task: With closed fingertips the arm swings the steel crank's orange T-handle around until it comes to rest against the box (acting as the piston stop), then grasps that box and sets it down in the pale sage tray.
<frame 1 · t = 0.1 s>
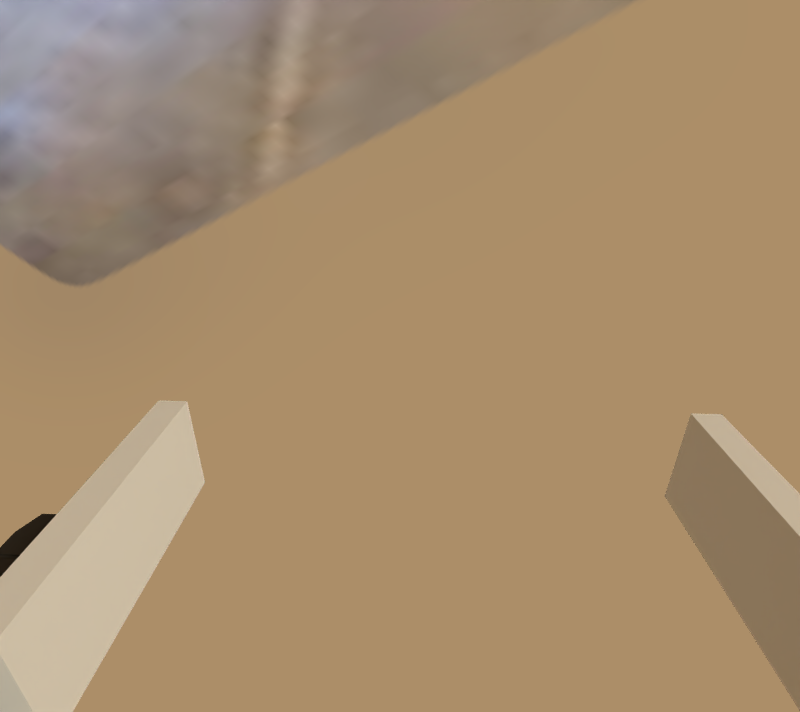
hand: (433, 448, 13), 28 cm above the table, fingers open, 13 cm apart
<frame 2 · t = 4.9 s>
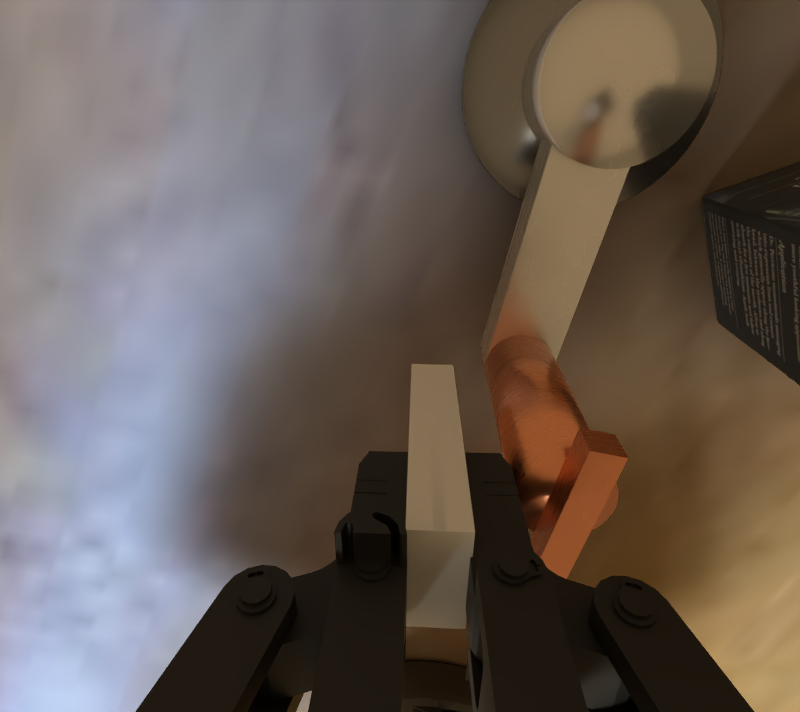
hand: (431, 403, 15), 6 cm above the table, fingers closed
crank: (586, 262, 13), point 6 cm above the table, hinge at 1.8°, touching gripper
crank base: (579, 85, 17), on the table
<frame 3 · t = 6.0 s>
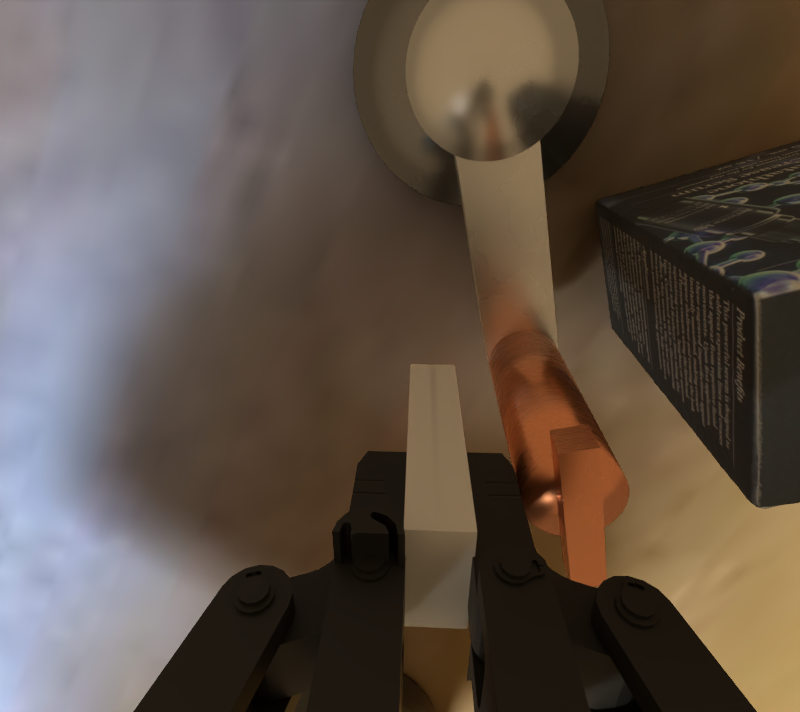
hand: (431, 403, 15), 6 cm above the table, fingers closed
box: (702, 238, 19), on the table
crank: (522, 255, 13), point 6 cm above the table, hinge at 29.8°, touching gripper
crank base: (475, 77, 17), on the table
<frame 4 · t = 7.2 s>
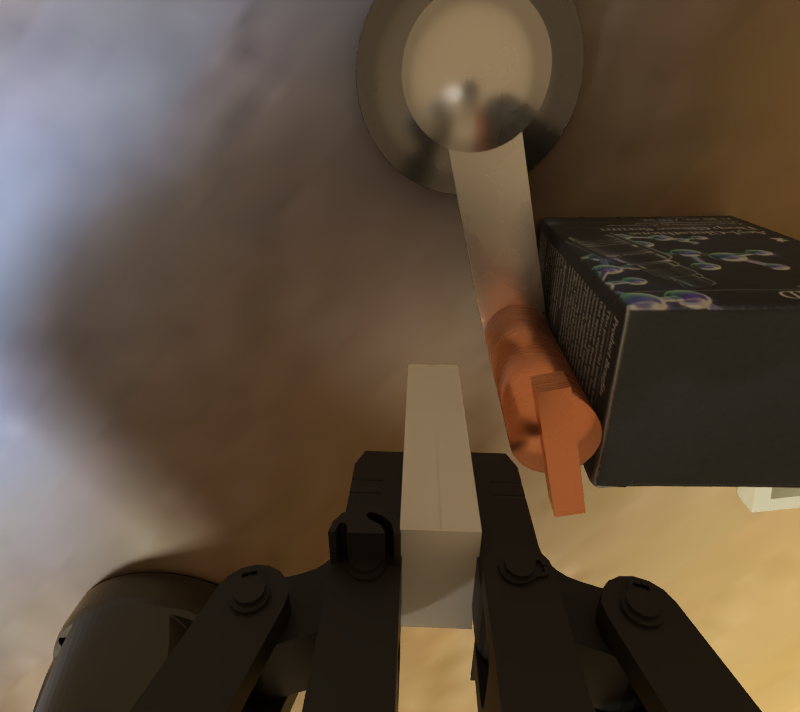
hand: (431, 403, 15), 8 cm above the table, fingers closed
box: (619, 276, 22), on the table, touching crank
crank: (507, 232, 15), point 6 cm above the table, hinge at 47.5°, touching box
crank base: (465, 78, 19), on the table
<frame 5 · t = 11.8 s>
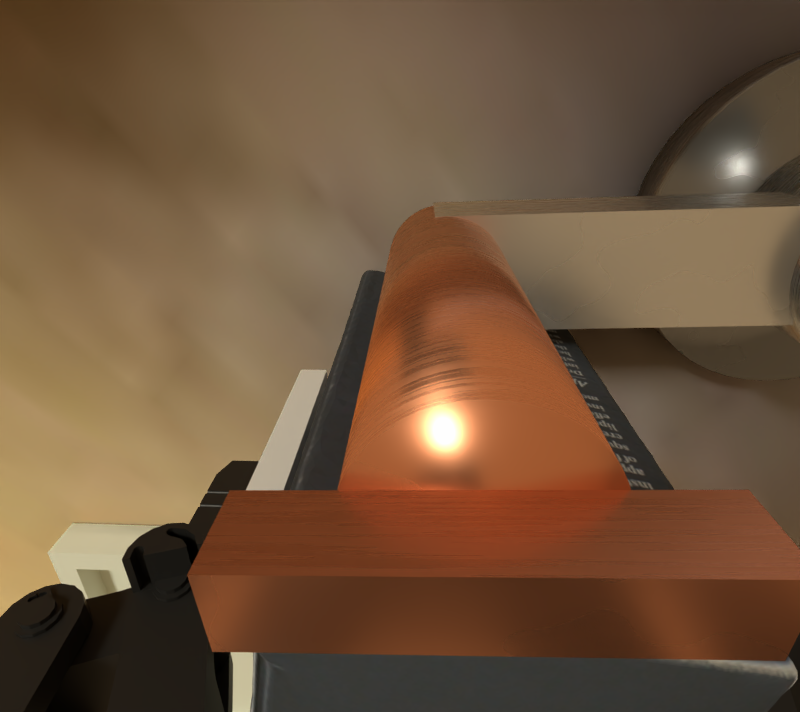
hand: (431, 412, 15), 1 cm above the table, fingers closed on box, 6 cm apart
box: (431, 394, 16), on the table, touching crank, gripper
tray: (261, 638, 22), on the table
crank: (758, 322, 7), point 6 cm above the table, hinge at 47.3°, touching box
crank base: (783, 224, 13), on the table
when the fingers open (3 cm above the table, at t = 17.6 s): box stays where it is, resting on tray.
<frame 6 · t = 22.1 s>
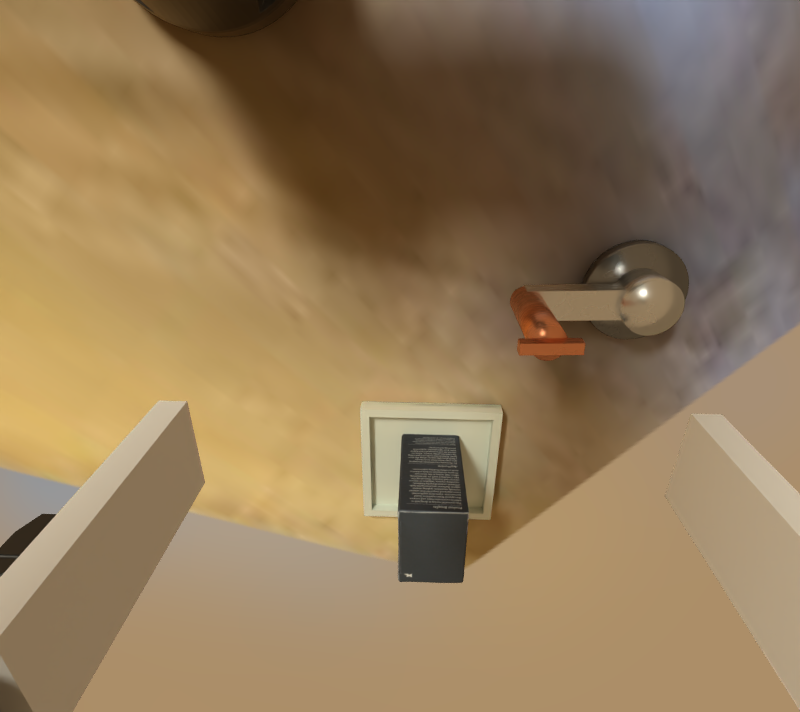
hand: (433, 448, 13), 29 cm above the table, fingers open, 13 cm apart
box: (429, 463, 49), resting on tray
tray: (428, 458, 49), on the table
crank: (601, 318, 35), point 6 cm above the table, hinge at 46.8°
crank base: (630, 288, 41), on the table
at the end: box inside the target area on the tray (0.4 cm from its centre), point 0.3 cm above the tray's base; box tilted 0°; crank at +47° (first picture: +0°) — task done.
